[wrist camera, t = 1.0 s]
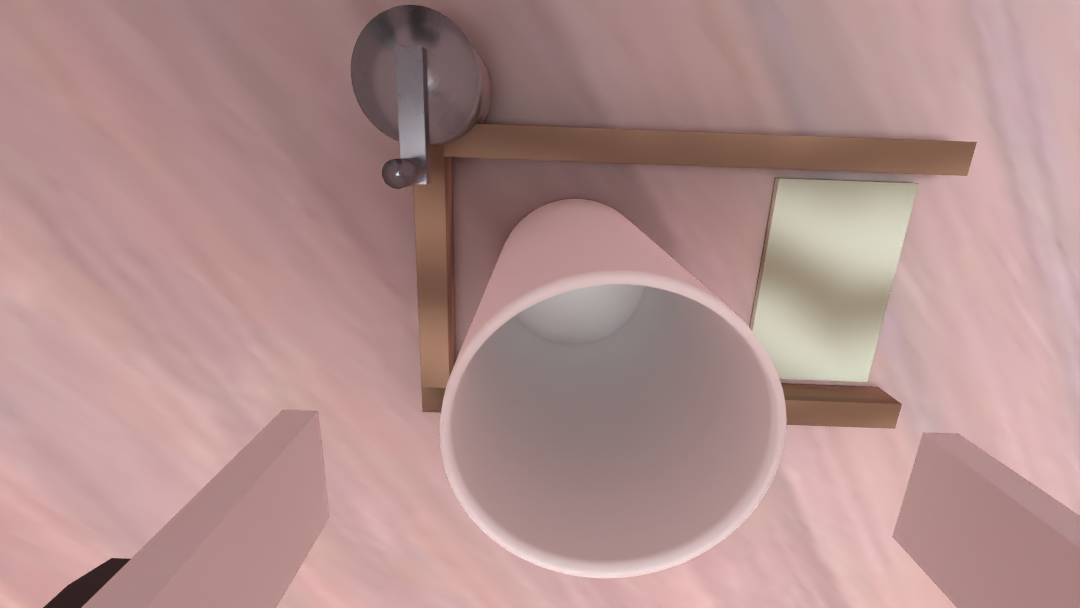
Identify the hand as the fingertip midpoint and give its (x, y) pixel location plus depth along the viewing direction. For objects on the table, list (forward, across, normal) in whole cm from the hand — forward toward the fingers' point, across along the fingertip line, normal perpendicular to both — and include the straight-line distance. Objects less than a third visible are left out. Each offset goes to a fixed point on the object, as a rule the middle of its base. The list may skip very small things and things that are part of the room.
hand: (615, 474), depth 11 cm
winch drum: (+17, -7, +10) cm, 20 cm away
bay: (+17, +5, 0) cm, 18 cm away
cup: (+17, 0, 0) cm, 17 cm away
